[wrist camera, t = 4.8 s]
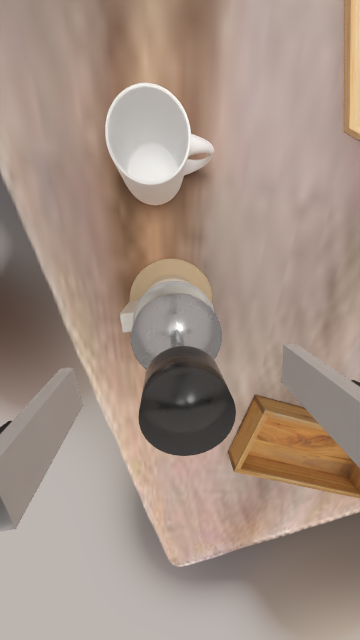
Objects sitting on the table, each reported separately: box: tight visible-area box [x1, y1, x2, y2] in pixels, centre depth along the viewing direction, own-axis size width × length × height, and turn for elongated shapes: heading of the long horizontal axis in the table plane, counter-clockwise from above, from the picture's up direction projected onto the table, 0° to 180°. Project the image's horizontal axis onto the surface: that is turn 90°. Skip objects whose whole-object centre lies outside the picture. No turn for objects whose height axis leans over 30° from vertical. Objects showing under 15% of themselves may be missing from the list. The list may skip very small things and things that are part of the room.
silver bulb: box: [131, 292, 236, 456], centre depth 16 cm, size 8×8×11 cm
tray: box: [228, 395, 360, 498], centre depth 46 cm, size 31×15×6 cm, turn 72°
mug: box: [105, 83, 214, 205], centre depth 27 cm, size 9×12×11 cm
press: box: [120, 259, 215, 332], centre depth 31 cm, size 14×14×13 cm
